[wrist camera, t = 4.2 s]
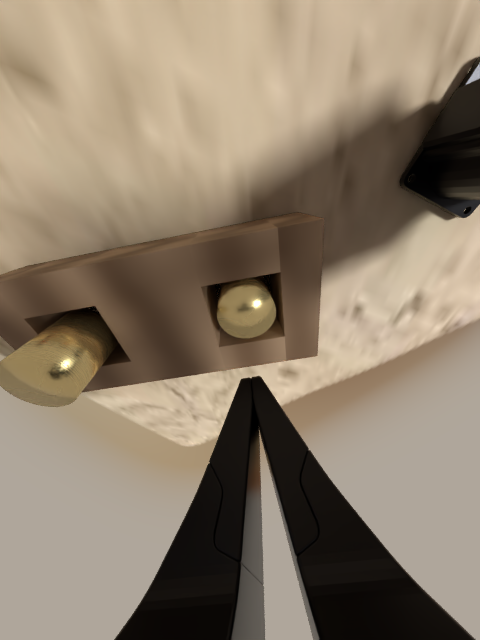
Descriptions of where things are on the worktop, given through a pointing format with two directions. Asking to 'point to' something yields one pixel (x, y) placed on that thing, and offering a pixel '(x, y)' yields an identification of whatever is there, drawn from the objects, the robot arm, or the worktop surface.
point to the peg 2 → (245, 307)
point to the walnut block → (178, 299)
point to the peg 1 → (59, 360)
